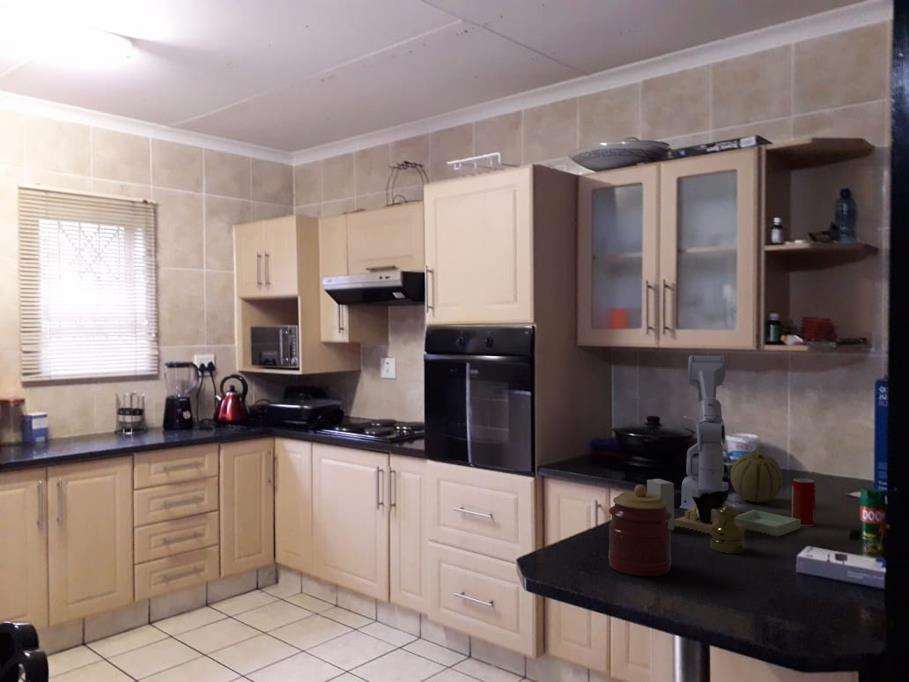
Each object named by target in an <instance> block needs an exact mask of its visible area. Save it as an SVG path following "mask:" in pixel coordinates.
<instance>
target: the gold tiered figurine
mask: <svg viewBox="0 0 909 682" xmlns="http://www.w3.org/2000/svg"><path fill="white" fill-rule="evenodd" d="M716 512H717V513H718V514H719V515H720V517H721V521H720V522H719V523H718V524H717V525H716V526H713V527H712V528H711V530H710V532H711V534H710V535H711V537H709V538H710V542H709V543H710V544H709V545H710V548H711V549H712V550H713V549H714V551H715V550H717V551H716V552H718V551H720V552H719V553H722V552H725V553H724V554H728V553H738V554H742V553H743V552H744V551H745V541H744V538H745V531H743V530H741V529H740V528H738V526H737V525H736V524H735V523H734V518H735V517H736V516H738V515H739V514H740V511H738V510H737V509H736V508H733V507H732V506H731V505H723V507H721V508H719V509H717V510H716ZM741 552H742V553H741Z"/></svg>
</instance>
